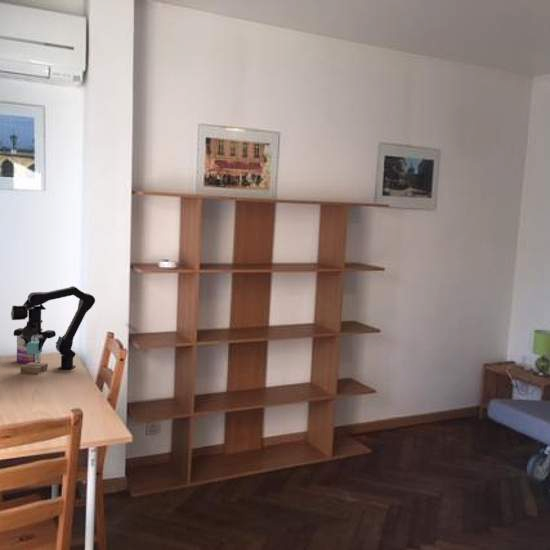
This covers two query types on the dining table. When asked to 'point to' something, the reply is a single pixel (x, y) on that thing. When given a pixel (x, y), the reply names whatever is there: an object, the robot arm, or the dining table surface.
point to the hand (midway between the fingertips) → (34, 350)
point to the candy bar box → (22, 351)
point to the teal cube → (33, 347)
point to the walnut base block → (34, 368)
